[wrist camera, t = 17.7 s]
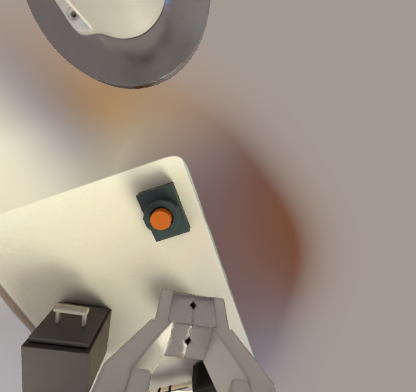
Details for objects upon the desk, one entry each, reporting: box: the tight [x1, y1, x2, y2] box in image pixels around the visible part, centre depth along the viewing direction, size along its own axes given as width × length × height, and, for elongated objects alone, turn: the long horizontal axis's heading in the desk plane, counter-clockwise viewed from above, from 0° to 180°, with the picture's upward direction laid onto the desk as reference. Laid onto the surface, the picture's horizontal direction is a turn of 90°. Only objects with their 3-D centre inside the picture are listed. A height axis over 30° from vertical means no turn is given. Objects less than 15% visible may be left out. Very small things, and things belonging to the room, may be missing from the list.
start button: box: [150, 208, 172, 230], centre depth 34 cm, size 4×4×2 cm
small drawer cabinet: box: [21, 309, 111, 392], centre depth 41 cm, size 14×12×10 cm
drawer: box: [29, 302, 107, 349], centre depth 40 cm, size 17×10×8 cm, turn 167°
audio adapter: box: [148, 363, 217, 392], centre depth 49 cm, size 11×5×25 cm
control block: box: [136, 182, 190, 242], centre depth 37 cm, size 10×7×4 cm
